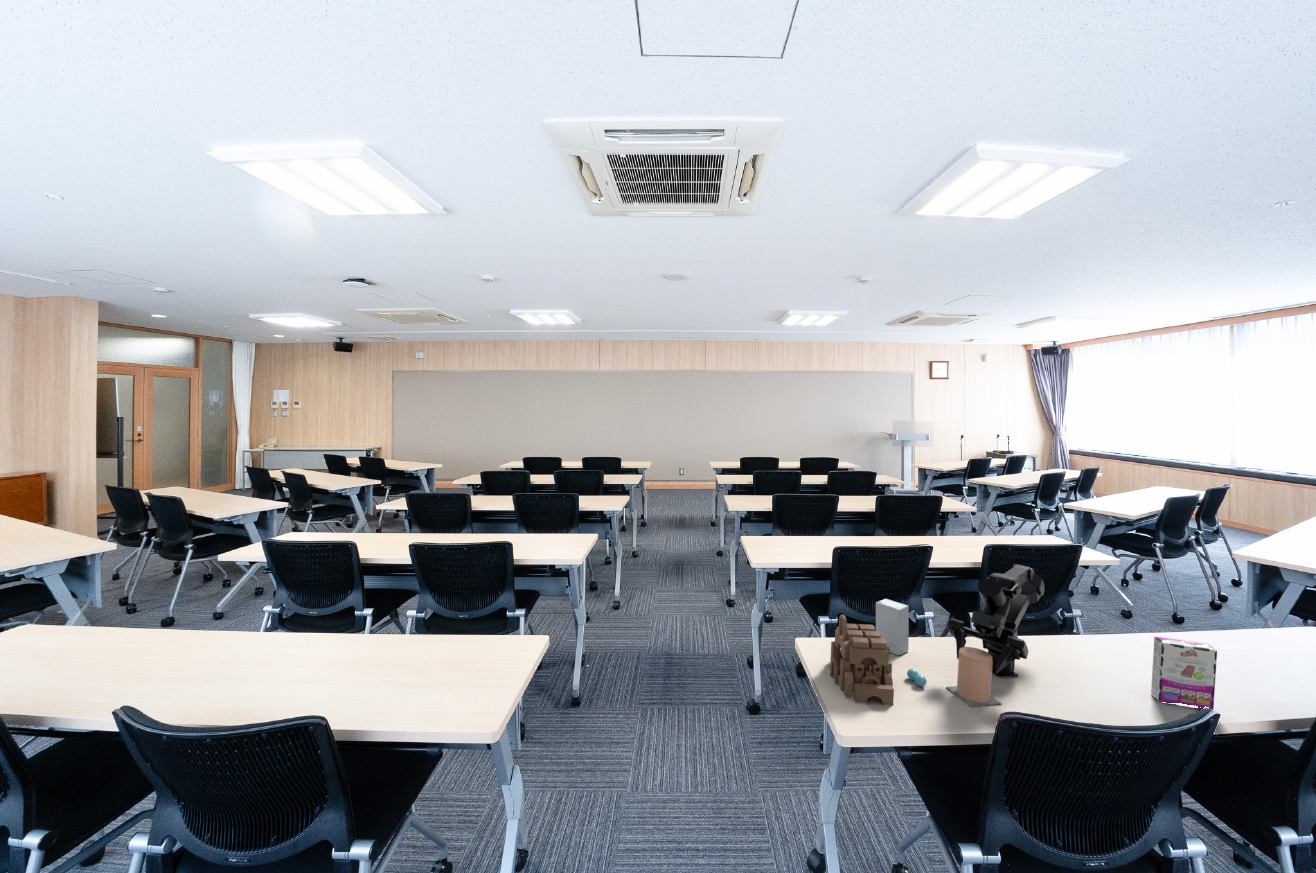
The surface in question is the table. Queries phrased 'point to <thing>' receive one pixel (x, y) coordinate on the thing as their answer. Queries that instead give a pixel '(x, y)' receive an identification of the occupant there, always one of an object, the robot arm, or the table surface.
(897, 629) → the skincare box
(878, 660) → the wooden puzzle
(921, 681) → the marble
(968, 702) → the mat
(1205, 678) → the candy bar box
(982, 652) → the salmon pink cylinder
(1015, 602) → the robot arm
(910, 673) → the marble
